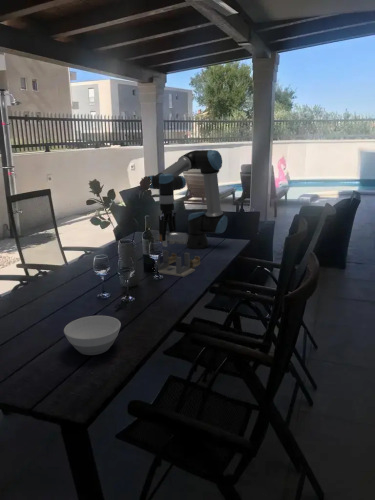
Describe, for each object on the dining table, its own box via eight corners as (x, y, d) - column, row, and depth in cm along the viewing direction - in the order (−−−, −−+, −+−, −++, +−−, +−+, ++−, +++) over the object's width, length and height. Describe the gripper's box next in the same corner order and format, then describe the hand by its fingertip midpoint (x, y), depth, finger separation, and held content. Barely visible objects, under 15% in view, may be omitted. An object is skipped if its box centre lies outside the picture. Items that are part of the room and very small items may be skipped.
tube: (148, 241, 239) (147, 230, 237) (154, 239, 244) (154, 228, 242) (182, 245, 228) (182, 234, 226) (188, 243, 233) (188, 231, 231)
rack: (164, 264, 252) (164, 256, 251) (172, 260, 260) (172, 253, 259) (192, 268, 243) (192, 260, 242) (200, 264, 251) (200, 256, 250)
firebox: (149, 271, 239) (149, 254, 237) (161, 265, 249) (161, 249, 247) (183, 276, 228) (183, 258, 226) (195, 270, 238) (194, 253, 236)
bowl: (133, 346, 153) (132, 324, 151) (87, 368, 139) (85, 344, 137) (99, 331, 165) (98, 311, 163) (54, 350, 151) (52, 328, 149)
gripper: (170, 200, 240) (171, 240, 246) (151, 204, 224) (152, 248, 230) (182, 201, 237) (183, 242, 242) (163, 205, 221) (164, 249, 226)
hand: (168, 244), depth 236 cm, fingers closed on tube, 6 cm apart
